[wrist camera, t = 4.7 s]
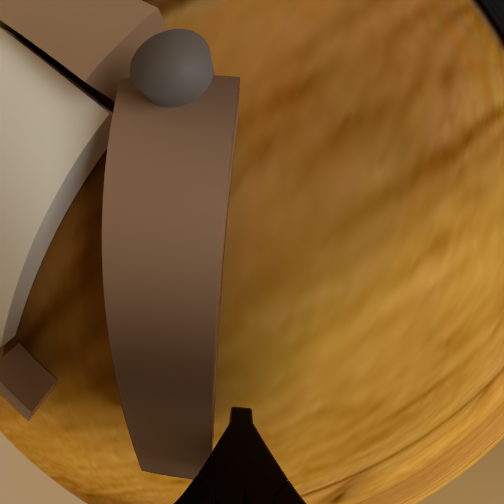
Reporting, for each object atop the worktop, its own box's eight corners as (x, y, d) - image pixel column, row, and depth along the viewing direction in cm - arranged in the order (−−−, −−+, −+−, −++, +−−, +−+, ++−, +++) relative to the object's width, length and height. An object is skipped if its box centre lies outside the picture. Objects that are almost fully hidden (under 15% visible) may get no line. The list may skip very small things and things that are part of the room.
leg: (159, 89, 7) (115, 36, 3) (241, 92, 7) (244, 30, 4) (155, 421, 9) (137, 485, 6) (214, 429, 9) (209, 496, 6)
